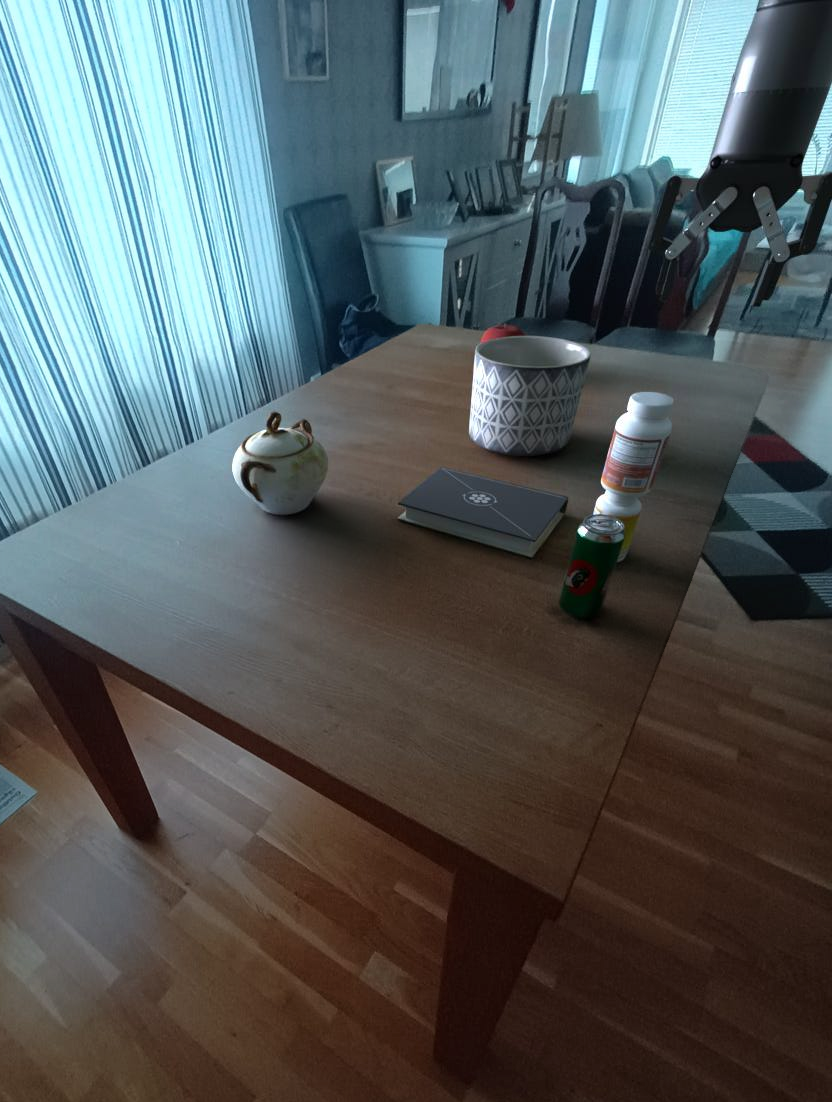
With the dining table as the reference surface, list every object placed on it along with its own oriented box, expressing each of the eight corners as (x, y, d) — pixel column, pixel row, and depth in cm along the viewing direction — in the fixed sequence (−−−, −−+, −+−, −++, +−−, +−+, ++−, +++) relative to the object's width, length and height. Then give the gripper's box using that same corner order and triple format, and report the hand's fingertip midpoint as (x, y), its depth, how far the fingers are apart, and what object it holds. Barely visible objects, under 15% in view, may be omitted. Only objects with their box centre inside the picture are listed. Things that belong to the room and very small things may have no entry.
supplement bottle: (633, 557, 80) (657, 489, 73) (605, 570, 78) (627, 501, 71) (601, 539, 83) (621, 473, 76) (574, 551, 81) (591, 484, 74)
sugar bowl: (293, 541, 85) (282, 443, 76) (212, 521, 91) (191, 427, 81) (351, 485, 99) (348, 395, 89) (277, 470, 104) (266, 384, 94)
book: (565, 513, 89) (570, 495, 87) (531, 559, 80) (535, 540, 78) (439, 482, 98) (441, 465, 96) (396, 520, 89) (397, 502, 87)
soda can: (603, 622, 69) (632, 536, 61) (560, 619, 70) (583, 533, 62) (596, 597, 73) (623, 513, 65) (555, 594, 74) (576, 510, 66)
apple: (521, 384, 135) (529, 329, 127) (475, 382, 137) (481, 327, 129) (522, 369, 143) (530, 317, 135) (478, 368, 145) (484, 316, 137)
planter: (578, 433, 112) (600, 341, 102) (556, 473, 100) (578, 372, 89) (483, 419, 119) (494, 331, 108) (451, 454, 107) (460, 359, 96)
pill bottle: (622, 472, 77) (648, 385, 69) (662, 490, 73) (693, 400, 65) (589, 483, 74) (612, 395, 67) (627, 503, 70) (656, 411, 63)
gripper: (685, 90, 49) (631, 307, 59) (891, 76, 44) (792, 315, 54) (688, 93, 54) (637, 292, 64) (872, 81, 49) (785, 299, 60)
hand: (708, 302), depth 59 cm, fingers open, 8 cm apart
